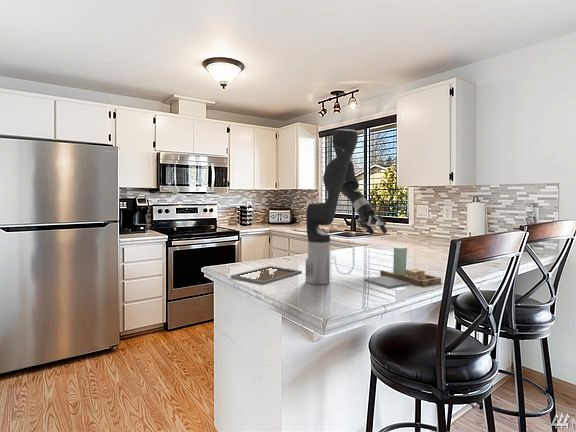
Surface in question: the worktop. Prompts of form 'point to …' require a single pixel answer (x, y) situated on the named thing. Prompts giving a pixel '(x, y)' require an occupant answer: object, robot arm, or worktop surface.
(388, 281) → the slate tile
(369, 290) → the worktop surface
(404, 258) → the sage green block
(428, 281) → the walnut rack
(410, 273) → the oak offcut stack
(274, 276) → the dark grey tray
